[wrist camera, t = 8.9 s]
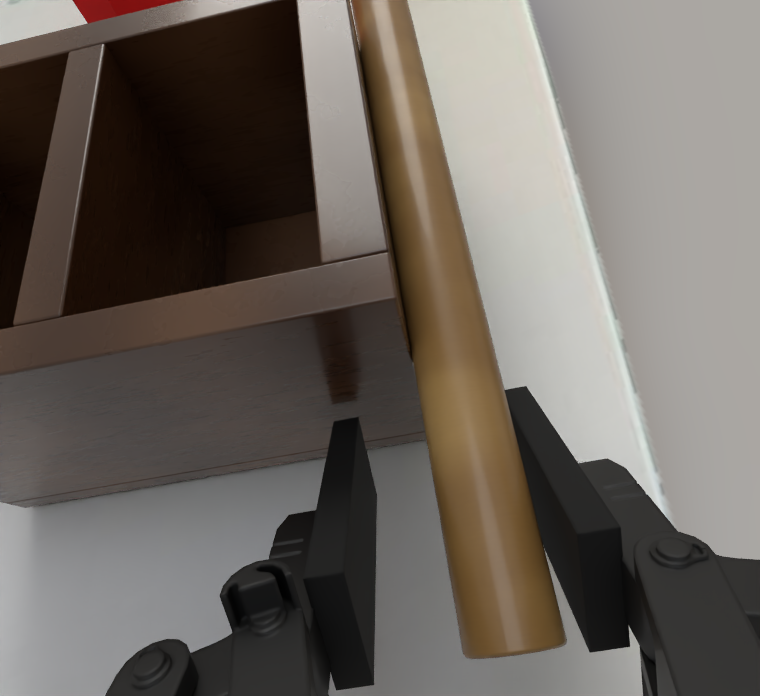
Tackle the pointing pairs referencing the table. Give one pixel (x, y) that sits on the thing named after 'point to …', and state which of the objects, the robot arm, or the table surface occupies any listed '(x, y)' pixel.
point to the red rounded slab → (114, 7)
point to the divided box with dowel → (252, 275)
